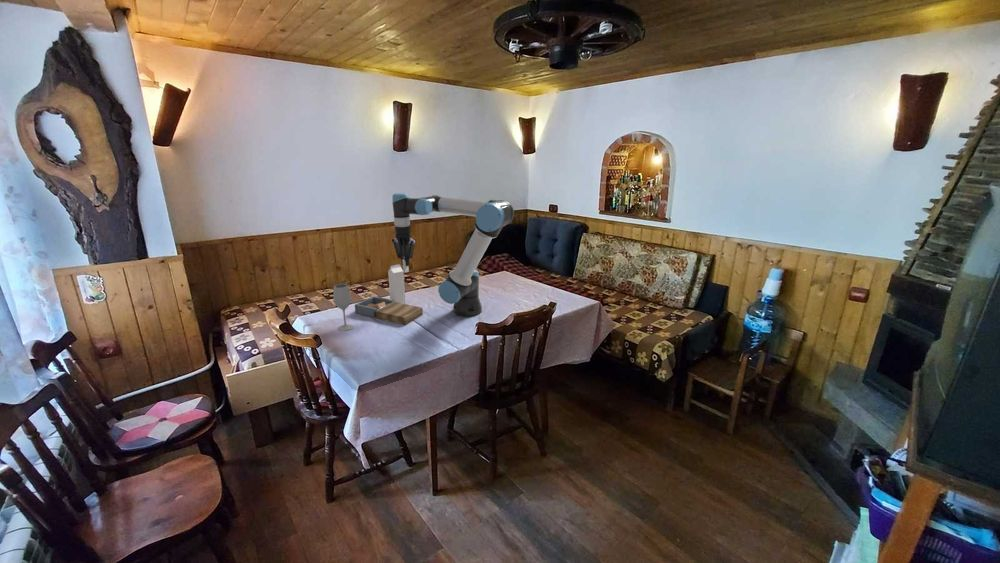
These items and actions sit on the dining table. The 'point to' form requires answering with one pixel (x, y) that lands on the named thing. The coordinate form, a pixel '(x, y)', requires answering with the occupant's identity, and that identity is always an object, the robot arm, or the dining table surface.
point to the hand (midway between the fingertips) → (406, 271)
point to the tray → (364, 310)
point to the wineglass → (342, 302)
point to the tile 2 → (379, 305)
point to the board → (399, 313)
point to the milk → (396, 284)
